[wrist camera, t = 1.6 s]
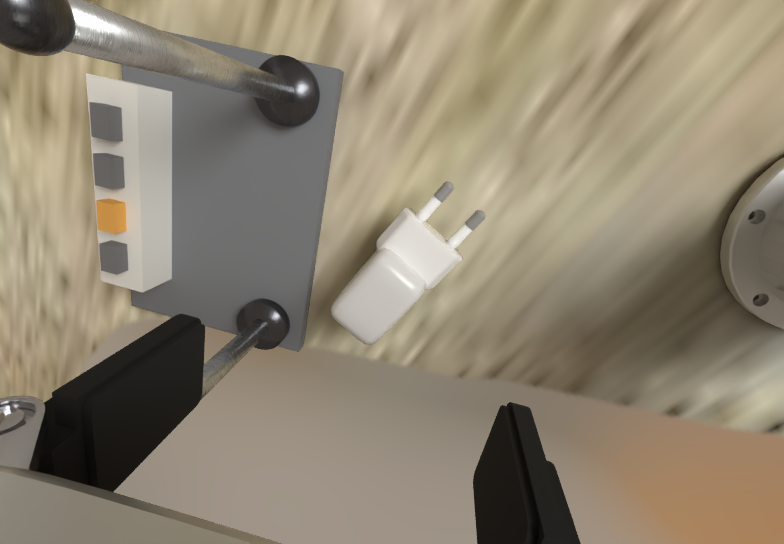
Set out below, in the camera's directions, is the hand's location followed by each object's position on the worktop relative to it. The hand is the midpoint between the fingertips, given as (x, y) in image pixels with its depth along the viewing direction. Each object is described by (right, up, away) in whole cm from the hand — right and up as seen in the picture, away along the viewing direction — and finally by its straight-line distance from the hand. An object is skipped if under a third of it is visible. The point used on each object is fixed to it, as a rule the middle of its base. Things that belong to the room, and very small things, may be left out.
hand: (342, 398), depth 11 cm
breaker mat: (-11, +9, +17) cm, 22 cm away
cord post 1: (-5, +15, +13) cm, 21 cm away
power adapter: (+3, +6, +16) cm, 17 cm away
